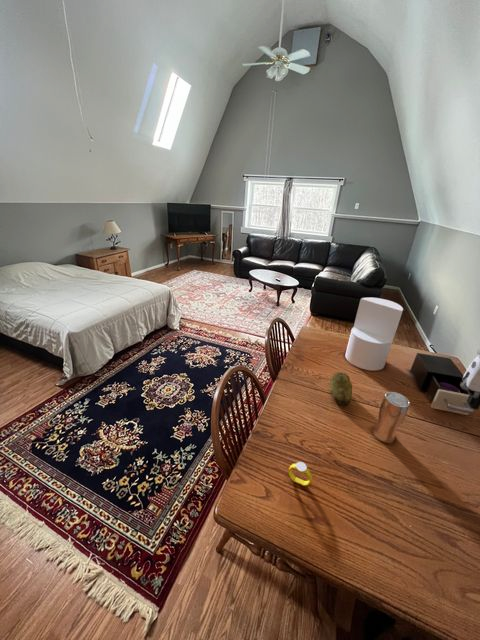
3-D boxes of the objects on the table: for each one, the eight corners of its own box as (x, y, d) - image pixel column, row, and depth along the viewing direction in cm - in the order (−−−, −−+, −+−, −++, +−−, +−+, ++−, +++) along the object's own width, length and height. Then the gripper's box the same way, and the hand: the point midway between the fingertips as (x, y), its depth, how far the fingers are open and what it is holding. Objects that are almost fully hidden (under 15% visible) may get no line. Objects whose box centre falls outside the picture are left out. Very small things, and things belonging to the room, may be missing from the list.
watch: (311, 482, 71) (314, 467, 68) (308, 491, 68) (312, 476, 66) (289, 471, 73) (292, 456, 71) (286, 480, 71) (288, 465, 68)
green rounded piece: (325, 403, 98) (329, 385, 95) (330, 383, 109) (334, 367, 106) (348, 410, 95) (353, 393, 92) (351, 389, 106) (356, 373, 102)
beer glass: (391, 448, 82) (407, 411, 75) (368, 435, 86) (381, 398, 79) (398, 435, 86) (413, 399, 80) (375, 423, 90) (388, 388, 84)
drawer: (474, 425, 91) (484, 407, 87) (436, 416, 93) (444, 399, 90) (452, 392, 106) (460, 376, 103) (420, 385, 109) (427, 370, 105)
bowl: (450, 394, 103) (455, 384, 101) (458, 406, 97) (463, 396, 95) (430, 390, 105) (435, 380, 103) (437, 401, 99) (441, 392, 97)
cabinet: (456, 398, 104) (466, 378, 100) (419, 391, 107) (428, 371, 103) (442, 376, 116) (450, 358, 112) (410, 371, 119) (417, 352, 115)
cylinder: (355, 346, 137) (369, 294, 125) (390, 361, 126) (409, 306, 114) (338, 358, 126) (351, 303, 115) (375, 375, 115) (393, 316, 103)
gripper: (475, 358, 75) (449, 408, 83) (539, 369, 72) (506, 420, 79) (463, 345, 81) (440, 393, 89) (521, 355, 78) (492, 403, 86)
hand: (471, 406), depth 84 cm, fingers closed
